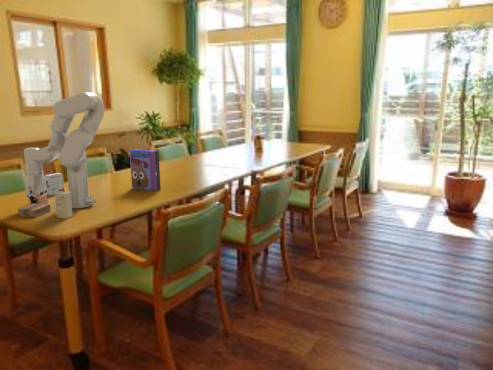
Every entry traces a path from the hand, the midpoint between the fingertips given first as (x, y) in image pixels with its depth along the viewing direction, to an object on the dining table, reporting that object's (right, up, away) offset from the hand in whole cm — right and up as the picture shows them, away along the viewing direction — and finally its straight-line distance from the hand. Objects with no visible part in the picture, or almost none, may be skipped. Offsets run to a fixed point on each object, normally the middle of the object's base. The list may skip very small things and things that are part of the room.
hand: (39, 205), depth 212 cm
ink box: (-4, +5, +27) cm, 28 cm away
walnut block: (+4, -4, -11) cm, 13 cm away
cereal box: (+47, +8, +37) cm, 60 cm away
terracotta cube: (0, -1, 0) cm, 1 cm away
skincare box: (+21, -5, -17) cm, 27 cm away
